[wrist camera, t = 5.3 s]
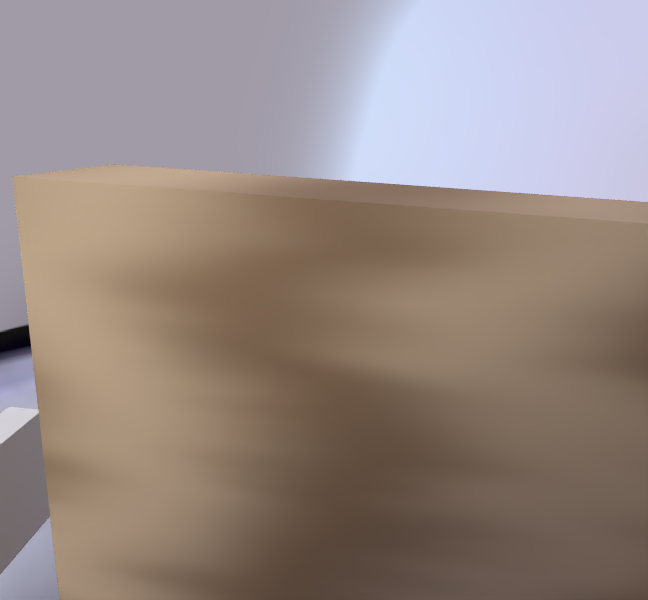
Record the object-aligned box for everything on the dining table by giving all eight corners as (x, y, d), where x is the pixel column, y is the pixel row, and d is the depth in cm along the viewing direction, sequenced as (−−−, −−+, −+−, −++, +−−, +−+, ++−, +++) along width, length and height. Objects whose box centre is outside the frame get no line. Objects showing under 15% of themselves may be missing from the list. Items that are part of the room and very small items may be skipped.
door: (519, 738, 14) (649, 200, 10) (560, 917, 11) (780, 232, 7) (149, 684, 15) (124, 163, 11) (86, 837, 12) (12, 176, 7)
